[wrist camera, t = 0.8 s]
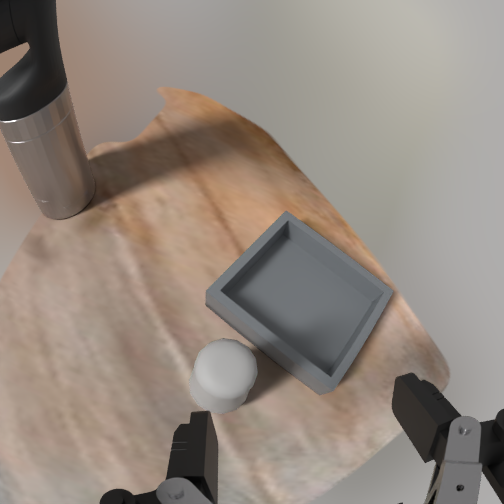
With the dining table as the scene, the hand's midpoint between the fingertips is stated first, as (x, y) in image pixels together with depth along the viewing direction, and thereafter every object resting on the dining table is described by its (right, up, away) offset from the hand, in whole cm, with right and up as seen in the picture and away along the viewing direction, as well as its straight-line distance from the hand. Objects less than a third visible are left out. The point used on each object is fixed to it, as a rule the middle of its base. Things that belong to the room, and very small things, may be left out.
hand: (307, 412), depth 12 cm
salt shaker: (-6, -7, +19) cm, 21 cm away
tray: (+3, 0, +25) cm, 25 cm away
